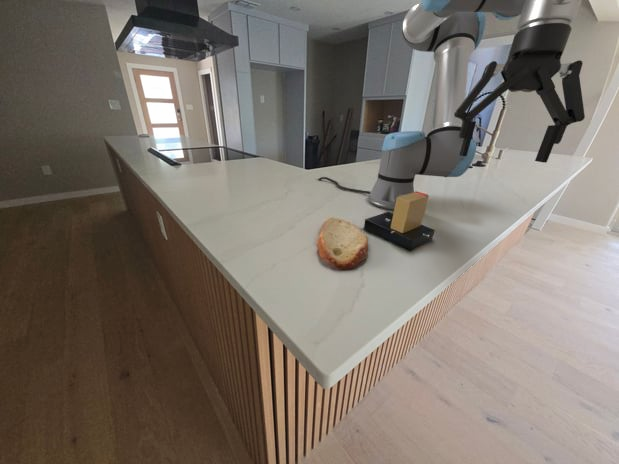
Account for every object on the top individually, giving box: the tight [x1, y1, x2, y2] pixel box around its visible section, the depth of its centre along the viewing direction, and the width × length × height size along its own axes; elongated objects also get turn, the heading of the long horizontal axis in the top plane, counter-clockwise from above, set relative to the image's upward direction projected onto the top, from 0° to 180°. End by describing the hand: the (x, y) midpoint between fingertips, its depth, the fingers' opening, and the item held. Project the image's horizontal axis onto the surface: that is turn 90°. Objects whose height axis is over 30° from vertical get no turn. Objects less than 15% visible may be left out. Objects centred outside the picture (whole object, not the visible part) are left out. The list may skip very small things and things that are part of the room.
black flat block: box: [363, 211, 436, 252], centre depth 65 cm, size 15×12×3 cm
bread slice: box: [316, 217, 369, 270], centre depth 60 cm, size 18×18×4 cm
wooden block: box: [391, 190, 430, 233], centre depth 62 cm, size 8×4×8 cm, turn 128°
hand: (500, 158), depth 51 cm, fingers open, 13 cm apart
